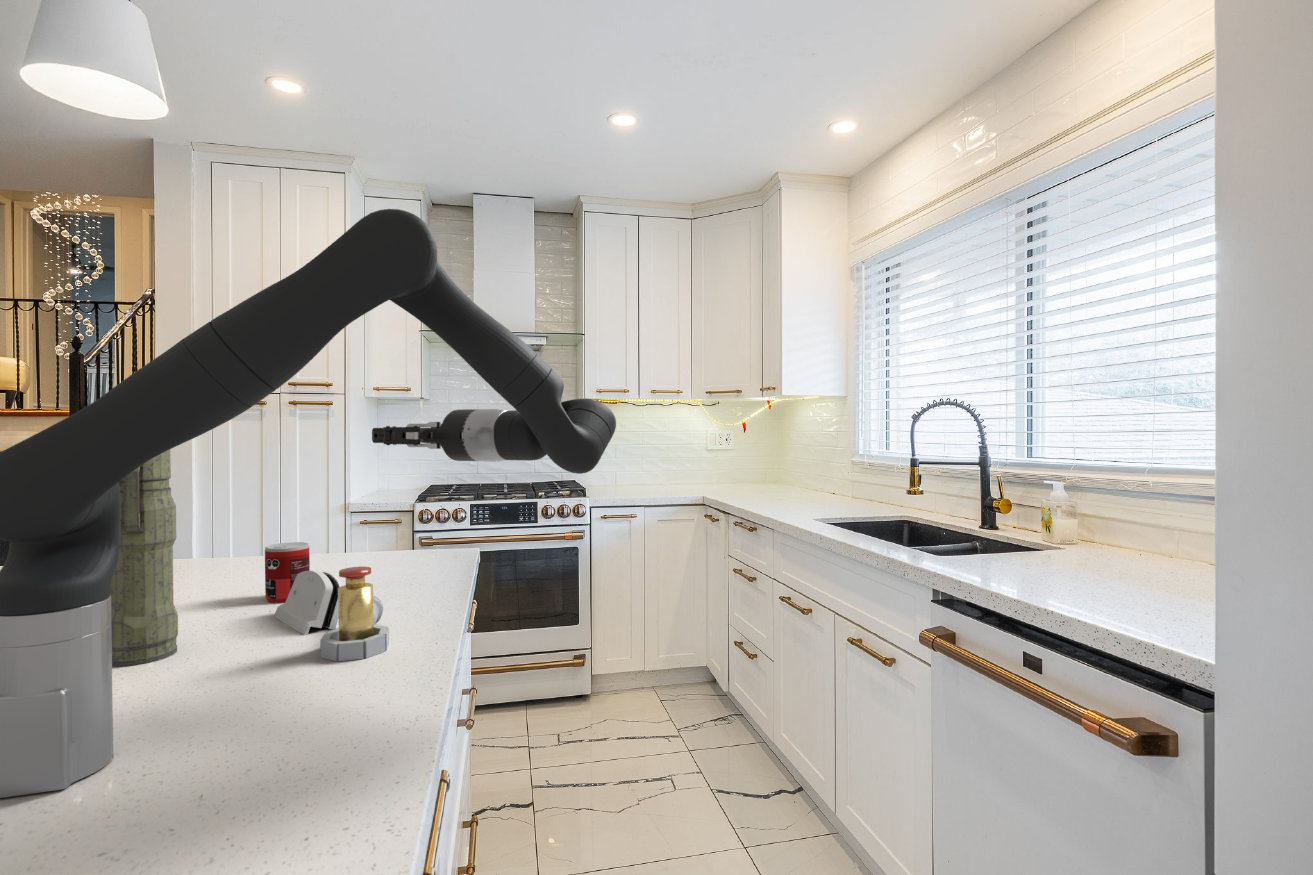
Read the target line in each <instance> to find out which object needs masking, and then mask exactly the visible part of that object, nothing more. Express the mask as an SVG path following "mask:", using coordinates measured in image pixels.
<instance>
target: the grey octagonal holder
mask: <svg viewBox="0 0 1313 875" xmlns="http://www.w3.org/2000/svg"><path fill="white" fill-rule="evenodd" d="M383 612H384V605H383V602H382V601H381V600H380V598H379V597H377V596H375V595H373V613H374V636H372V637H369V638H366V639H363V640H352V641H339V627H338V628H336V629H331V630H329V631H327V632H324V634H323V635H322V637H321V638H320V639H319V640H320V646H319V647H320V650H319V651H320V658H322V659H325V660H329V661H333V662H337V661H338V662H344V661H346V662H347V661H355V660H356V661H357V660H364V659H369V658H371V657H373V656H376V655H378V654H382V653H384V652H386V651H387V650H388V648H389V644H390V630H389V629H390V627H388V626H386V625H380V624H378V622H379V621H380V620H381V618H382V616H383Z"/></svg>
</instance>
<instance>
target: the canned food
mask: <svg viewBox="0 0 1313 875" xmlns="http://www.w3.org/2000/svg"><path fill="white" fill-rule="evenodd" d="M310 564H311V563H310V544H309V543H308V542H302V541H301V542H300V541H291V542H280V543H274V544H269V545H267V546H265V547H264V582H265V583H264V585H265V586H264V588H265V589H264V590H265V592H264V593H265V595H264V596H265V599H266V601H267V602H268V603H273V604H281V603H282V604H284V603H285V602H286V600H287V598H288V595H289V593H290V590H291V588H292V586H293V583H294V581H295V578H296V576H297V575H298V574H299V573H301V572H304V571H311V569H310V566H311V565H310Z"/></svg>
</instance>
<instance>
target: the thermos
mask: <svg viewBox="0 0 1313 875" xmlns="http://www.w3.org/2000/svg"><path fill="white" fill-rule="evenodd" d="M171 460H172V459H171V449H169V450H167V451H165V452H163V453H161V454H160V455H158V456H156V457H154V458H152V459H151V460H149V461H147V462H146V463H144V464H143V465H141V466H140V467H138V468H137V469H135V470H134V471H133V472H131V473H130V474H129V475H127V476H126V477H125V478H123V479H122V480H121V481H119V488H120V539H119V558H118V563H117V566H116V569H115V572H114V574H113V577H112V581H111V620H112V623H111V632H112V667H132V666H138V665H139V666H140V665H144V664H149V663H153V662H157V661H160V660H165V659H167V658H168V657H169V658H170V657H171V656H173V655H175V654H176V653H177V652H178V645H177V637H178V636H179V614H178V611H177V608H176V606H175V604H174V544H175V542H176V540H177V506H176V504H175V503H176V502H175V501H174V498H173V495H172V488H171V487H170V479H171V478H172V476H171V475H172V474H171V473H172V471H171V470H172V469H171V468H172V467H171V466H172V465H171V464H172V463H171Z"/></svg>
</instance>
